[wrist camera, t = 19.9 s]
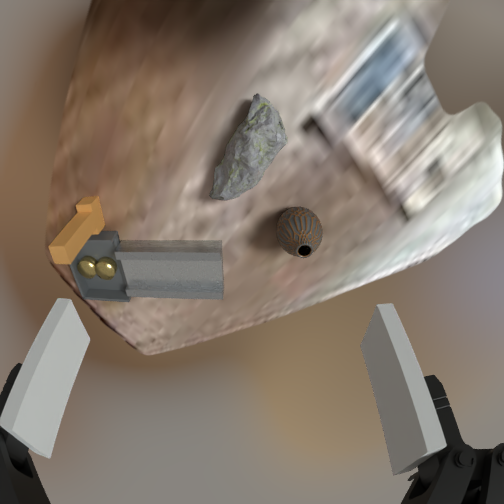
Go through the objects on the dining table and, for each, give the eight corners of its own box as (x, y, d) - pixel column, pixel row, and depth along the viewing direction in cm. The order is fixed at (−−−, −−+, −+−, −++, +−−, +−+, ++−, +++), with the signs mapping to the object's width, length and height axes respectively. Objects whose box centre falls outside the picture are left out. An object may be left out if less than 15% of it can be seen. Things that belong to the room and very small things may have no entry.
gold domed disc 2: (96, 256, 52) (92, 263, 51) (114, 255, 52) (110, 262, 51) (102, 273, 55) (98, 280, 53) (120, 273, 54) (116, 280, 53)
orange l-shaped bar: (83, 197, 46) (45, 238, 35) (98, 196, 46) (61, 238, 35) (90, 225, 49) (57, 271, 38) (105, 225, 49) (73, 271, 38)
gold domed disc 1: (79, 255, 52) (74, 261, 50) (96, 255, 52) (92, 262, 50) (84, 271, 54) (80, 278, 53) (101, 272, 54) (97, 279, 53)
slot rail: (121, 240, 51) (114, 251, 48) (221, 240, 51) (220, 252, 48) (132, 284, 57) (127, 296, 54) (224, 286, 57) (223, 299, 54)
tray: (68, 231, 49) (61, 240, 47) (117, 230, 50) (111, 240, 47) (88, 289, 57) (83, 298, 55) (133, 291, 58) (129, 302, 55)
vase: (302, 192, 46) (312, 220, 39) (325, 223, 49) (337, 254, 42) (266, 216, 49) (269, 247, 41) (290, 245, 52) (296, 278, 45)
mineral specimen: (249, 203, 47) (249, 225, 42) (207, 184, 46) (200, 203, 40) (300, 116, 40) (308, 125, 34) (254, 92, 38) (255, 97, 32)
